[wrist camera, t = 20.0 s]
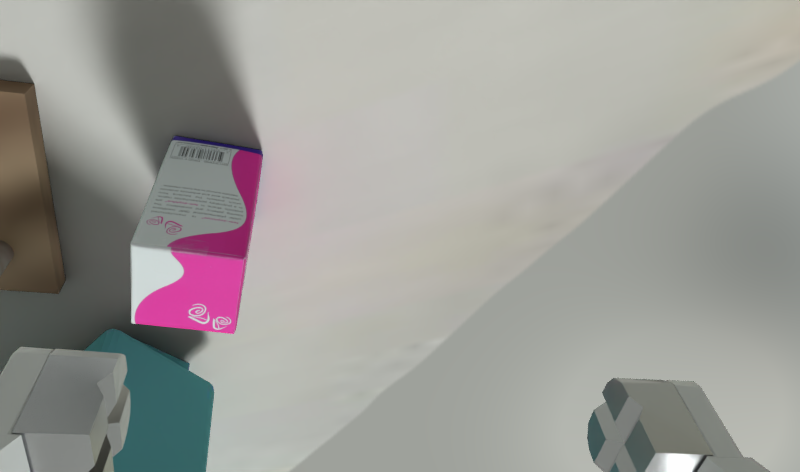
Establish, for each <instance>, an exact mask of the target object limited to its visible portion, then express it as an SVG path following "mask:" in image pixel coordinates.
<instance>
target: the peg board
mask: <svg viewBox="0 0 800 472" xmlns="http://www.w3.org/2000/svg"><path fill="white" fill-rule="evenodd" d="M64 282H65V274H64V267H63V261H62V255H61V249H60V242H59V236H58V230H57V224H56V217H55V211H54V205H53V199H52V193H51V186H50V180H49V174H48V168H47V161H46V155H45V149H44V143H43V136H42V130H41V124H40V118H39V111H38V105H37V99H36V93H35V87H34V84H31V83H22V82H13V81H4V80H0V290H10V291H25V292H40V293H56V294H59V292H60V290H61V288H62V286H63V284H64Z"/></svg>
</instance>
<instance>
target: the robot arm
mask: <svg viewBox="0 0 800 472" xmlns="http://www.w3.org/2000/svg"><path fill="white" fill-rule="evenodd" d="M127 371H128V370H127V363H126V356H125V355H124V354H121V353H108V352H94V351H81V350H68V349H46V348H33V347H20V348H19V349H17V350H16V351H15V352H14V353H13V354H12V355H11V357H10V359H9V360H8V362H7V364H6V366H5V367H4V369H3V371H2V373H1V375H0V472H114V466H113V458H112V457H114V456H115V455H116V454H117V453H118V452H120V451H121V450H122V448H123V445H124V442H125V438H126V435H127V430H128V424H129V418H130V404H131V400H130V390H129V389H128V388H127V387H126V386H125V385H124V384H123V383H124V380H125V377H126V374H127ZM602 393H603V396H604V398H605V400H606V402H605V403H604V404H602V405H600V406H599V407H597V408H596V409H595V410H594V411H593V413H592V416H591V418H590V420H589V423H588V437H587V439H588V444H589V450H590V453H591V456H592V459H593V461H594V463H595V464H596V465H597V466H598V467H599V468H600V469H601V470H602V471H603V472H770V471H769V470H767V469H766V468H765V467H763V466H762V465H760V464H759V463H758V462H756V461H755V460H754V459H753V458H748V457H743V456H742V454H741V452H740V451H739V449H738V447H737V446H736V444H735V443H734V441H733V439H732V437H731V436H730V434H729V433H728V431H727V429H726V428H725V426H724V424H723V423H722V421H721V419H720V418H719V416H718V415H717V413H716V411H715V410H714V408H713V406H712V405H711V403H710V401H709V400H708V398H707V396H706V395H705V393H704V391H703V390H702V388H701V387H700V386H699V385H697V384H696V383H695V382H694V381H673V380H672V381H671V380H667V381H664V380H650V379H648V380H647V379H625V378H613V379H612V380H610V381H609V382H608V383H607V384H606V386H605V389H604V390H603V392H602Z"/></svg>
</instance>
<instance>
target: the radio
mask: <svg viewBox="0 0 800 472" xmlns="http://www.w3.org/2000/svg"><path fill="white" fill-rule="evenodd" d="M84 351H94V352H108V353H121V354H124V355H125V356H126V363H127V370H128V371H127V374H126V377H125V380H124V383H123V384H124V385H125V386H126V387H127V388H128V389H129V390H130V400H131V404H130V418H129V424H128V430H127V435H126V438H125V442H124V445H123V448H122V450H121V451H120V452H118V453H117V454H116V455H115V456H114V457H112V458H113V466H114V472H206V465H207V455H208V446H209V437H210V427H211V418H212V408H213V399H214V389H213V386H212V385H211V384H210V383H209V382H207V381H206V380H204V379H202V378H200V377H199V376H197V375H195V374H194V373H192V372H190V371H188V370H189V365H190V364H189V363H187V362H185V361H183V360H180V359H178V358H176V357H174V356H171V355H169V354H167V353H165V352H163V351H160V350H158V349H156V348H154V347H152V346H149V345H147V344H145V343H143V342H140V341H138V340H136V339H134V338H132V337H130V336H128V335H127V334H125V333H123V332H122V331H119V330H116V329H109V330H107V331H105V332H104V333H103V334H102V335H100V336H99V337H98V338H97V339H96V340H95V341H94V342H93V343H92V344H90V345H89V346H88V347H87V348H86V349H85V350H84Z"/></svg>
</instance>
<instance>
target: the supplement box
mask: <svg viewBox="0 0 800 472" xmlns="http://www.w3.org/2000/svg"><path fill="white" fill-rule="evenodd" d="M262 158H263V154H262V151H261V150H257V149H252V148H246V147H240V146H234V145H229V144H222V143H216V142H210V141H204V140H198V139H192V138H185V137H180V136H173V139H172V141H171V143H170V145H169V148H168V150H167V153H166V155H165V158H164V160H163V163H162V165H161V168H160V170H159V173H158V176H157V178H156V180H155V183H154V185H153V188H152V191H151V193H150V196H149V198H148V201H147V203H146V206H145V208H144V211H143V213H142V216H141V218H140V221H139V223H138V226H137V228H136V231H135V233H134V236H133V238H132V240H131V243H130V273H131V323H133V324H144V325H153V326H163V327H173V328H183V329H193V330H203V331H212V332H221V333H231V334H234V333H235V330H236V326H237V320H238V314H239V308H240V302H241V296H242V290H243V284H244V277H245V271H246V265H247V258H248V252H249V246H250V240H251V234H252V228H253V222H254V216H255V209H256V203H257V196H258V189H259V182H260V174H261V167H262Z"/></svg>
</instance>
